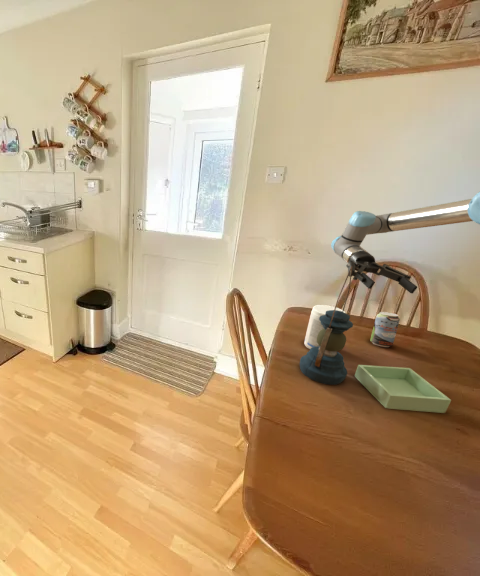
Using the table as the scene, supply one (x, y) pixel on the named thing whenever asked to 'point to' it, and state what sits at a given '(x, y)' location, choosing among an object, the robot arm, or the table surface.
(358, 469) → the table surface
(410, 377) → the green square tray
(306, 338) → the supplement tub
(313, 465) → the table surface
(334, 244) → the robot arm
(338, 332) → the lantern
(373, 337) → the beverage can
